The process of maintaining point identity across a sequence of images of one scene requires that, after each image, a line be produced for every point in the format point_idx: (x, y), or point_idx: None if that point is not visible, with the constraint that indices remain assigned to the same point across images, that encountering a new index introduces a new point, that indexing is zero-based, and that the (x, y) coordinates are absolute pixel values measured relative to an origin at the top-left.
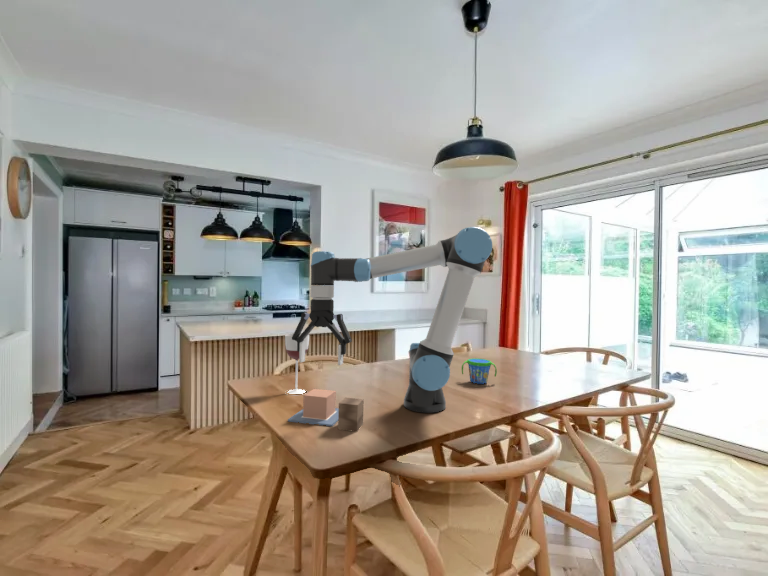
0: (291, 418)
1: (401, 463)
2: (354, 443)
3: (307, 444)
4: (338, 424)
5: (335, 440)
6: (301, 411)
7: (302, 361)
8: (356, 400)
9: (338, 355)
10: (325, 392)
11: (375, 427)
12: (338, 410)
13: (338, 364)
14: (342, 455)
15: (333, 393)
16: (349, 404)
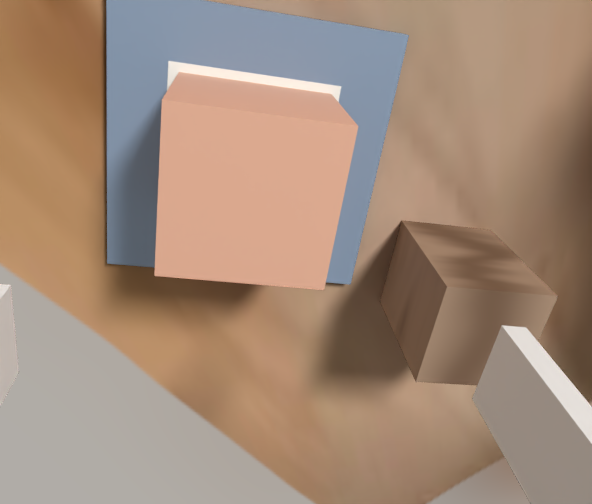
0: (119, 247)
1: None
2: (454, 400)
3: (291, 436)
4: (386, 314)
5: (384, 393)
6: (120, 129)
7: (13, 350)
8: (514, 323)
9: (526, 486)
10: (288, 184)
11: (545, 251)
12: (347, 67)
13: (480, 404)
14: (420, 472)
15: (347, 173)
16: (474, 383)
